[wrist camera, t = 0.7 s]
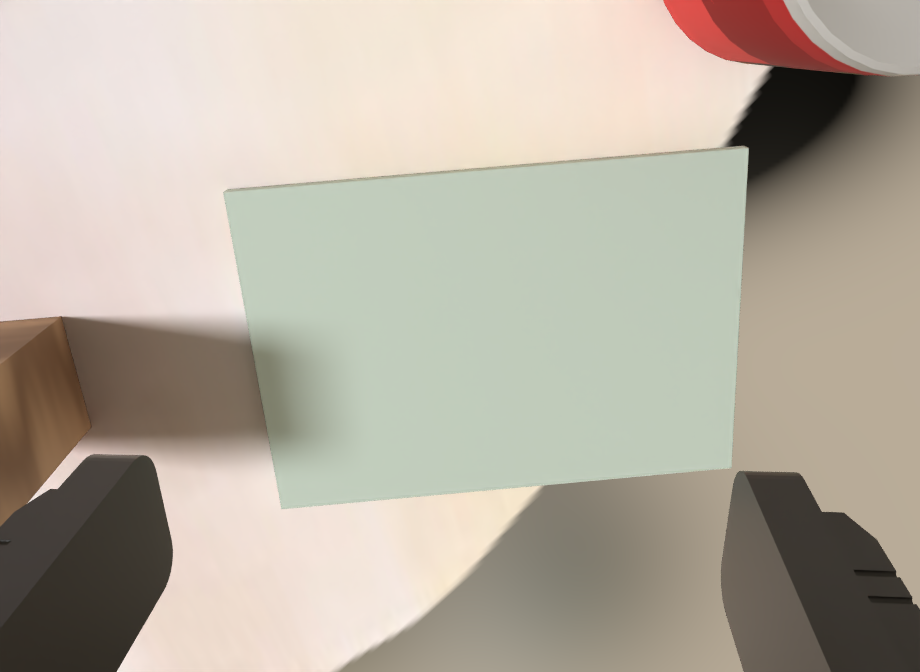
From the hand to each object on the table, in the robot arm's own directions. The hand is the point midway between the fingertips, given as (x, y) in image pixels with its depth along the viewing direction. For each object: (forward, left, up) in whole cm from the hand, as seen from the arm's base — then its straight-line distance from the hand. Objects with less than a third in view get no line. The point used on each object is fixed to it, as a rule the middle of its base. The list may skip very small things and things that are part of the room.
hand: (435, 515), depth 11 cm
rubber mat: (+6, +2, -21) cm, 22 cm away
